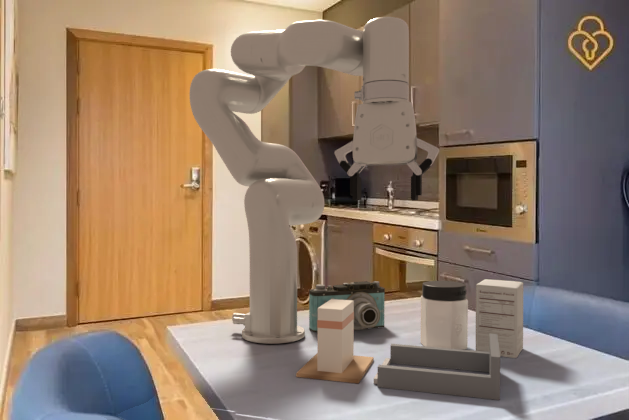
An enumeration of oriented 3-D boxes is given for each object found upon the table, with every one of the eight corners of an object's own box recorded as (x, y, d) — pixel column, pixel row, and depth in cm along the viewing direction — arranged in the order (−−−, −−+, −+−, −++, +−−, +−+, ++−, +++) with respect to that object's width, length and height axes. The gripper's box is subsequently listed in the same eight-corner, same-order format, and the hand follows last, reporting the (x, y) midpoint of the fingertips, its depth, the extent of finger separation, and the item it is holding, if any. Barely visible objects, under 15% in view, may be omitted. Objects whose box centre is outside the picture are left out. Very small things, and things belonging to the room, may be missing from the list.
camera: (322, 341, 106) (322, 290, 106) (307, 329, 115) (307, 283, 115) (397, 334, 111) (398, 286, 111) (377, 324, 121) (378, 279, 120)
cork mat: (296, 376, 85) (296, 373, 85) (318, 355, 96) (318, 352, 96) (358, 383, 82) (358, 379, 82) (373, 360, 93) (373, 357, 93)
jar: (443, 355, 97) (443, 289, 96) (411, 344, 103) (412, 282, 103) (476, 347, 102) (477, 284, 101) (444, 338, 108) (444, 279, 108)
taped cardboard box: (317, 370, 86) (317, 308, 86) (330, 356, 94) (330, 299, 93) (342, 373, 85) (342, 309, 84) (353, 358, 92) (354, 300, 92)
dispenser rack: (372, 386, 81) (372, 346, 80) (386, 360, 93) (387, 326, 93) (499, 400, 75) (500, 357, 75) (496, 370, 88) (497, 334, 88)
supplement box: (483, 343, 105) (484, 278, 104) (524, 348, 101) (524, 281, 101) (474, 352, 98) (474, 283, 98) (516, 359, 95) (517, 287, 94)
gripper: (328, 95, 88) (328, 200, 89) (436, 88, 83) (435, 200, 83) (341, 103, 96) (341, 200, 96) (441, 97, 90) (441, 200, 90)
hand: (385, 200), depth 90 cm, fingers open, 9 cm apart
